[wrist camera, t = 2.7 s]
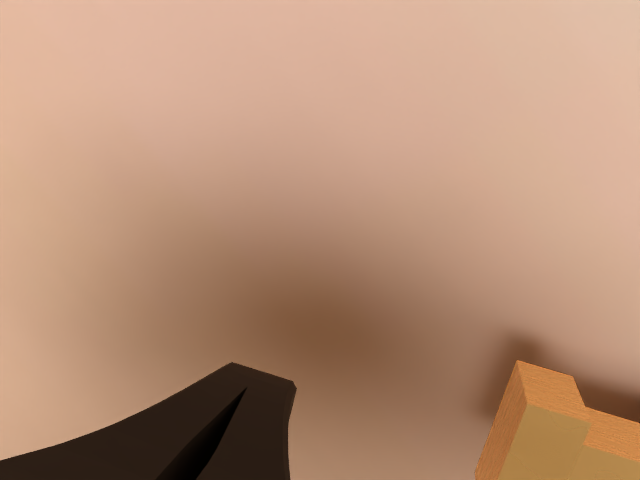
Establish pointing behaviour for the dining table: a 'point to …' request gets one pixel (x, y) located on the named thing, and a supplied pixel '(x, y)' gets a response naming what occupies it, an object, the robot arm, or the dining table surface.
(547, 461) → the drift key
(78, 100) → the dining table surface
